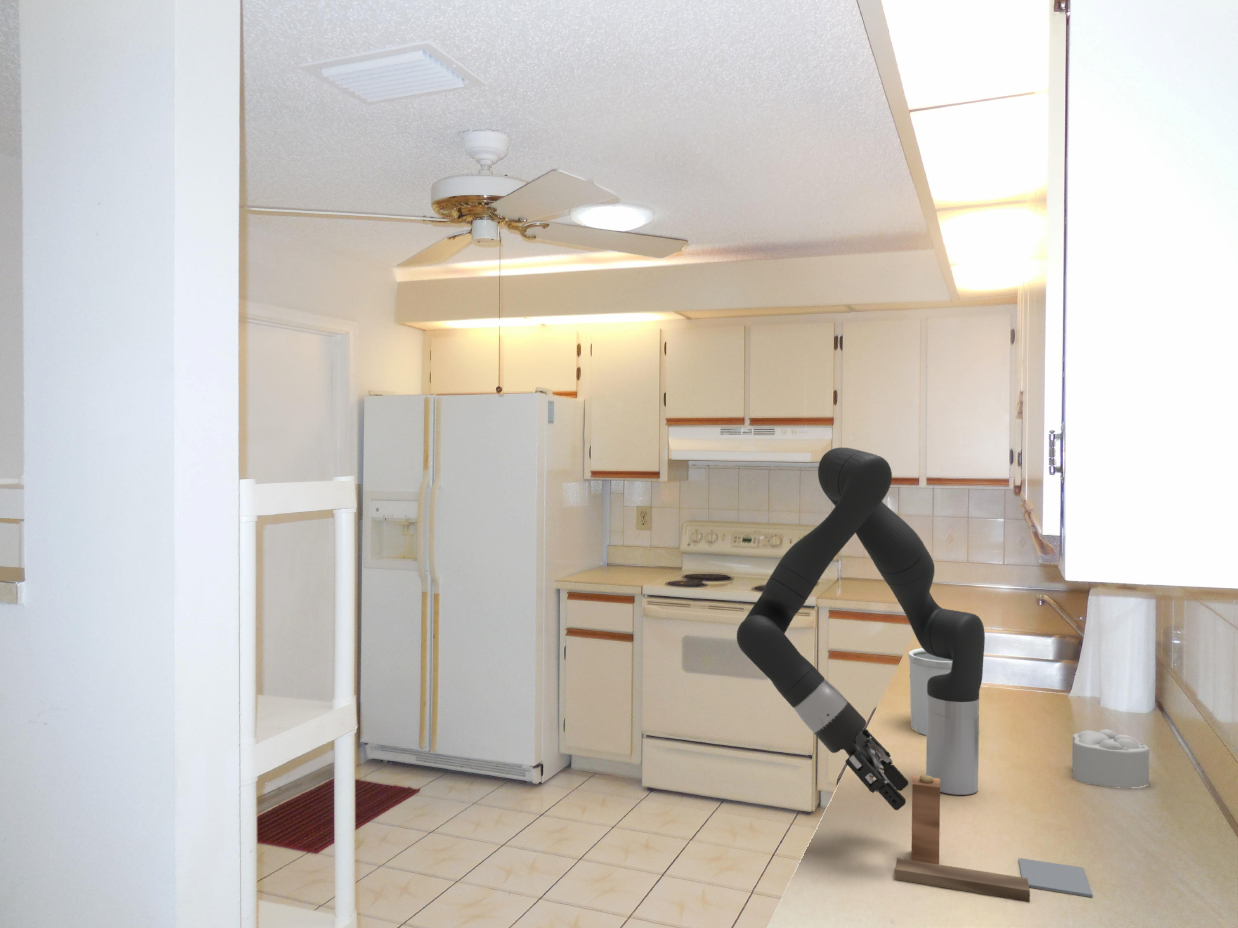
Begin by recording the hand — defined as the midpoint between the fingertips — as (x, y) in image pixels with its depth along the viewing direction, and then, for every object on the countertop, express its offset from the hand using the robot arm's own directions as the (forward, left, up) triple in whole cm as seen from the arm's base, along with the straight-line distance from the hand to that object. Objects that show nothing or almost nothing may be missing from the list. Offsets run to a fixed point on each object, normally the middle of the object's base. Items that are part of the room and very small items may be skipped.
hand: (903, 796), depth 140 cm
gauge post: (0, +3, -9) cm, 10 cm away
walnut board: (+7, +8, -9) cm, 14 cm away
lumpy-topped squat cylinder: (-50, +36, -9) cm, 63 cm away
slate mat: (0, +21, -9) cm, 23 cm away
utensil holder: (-71, +5, -9) cm, 72 cm away
